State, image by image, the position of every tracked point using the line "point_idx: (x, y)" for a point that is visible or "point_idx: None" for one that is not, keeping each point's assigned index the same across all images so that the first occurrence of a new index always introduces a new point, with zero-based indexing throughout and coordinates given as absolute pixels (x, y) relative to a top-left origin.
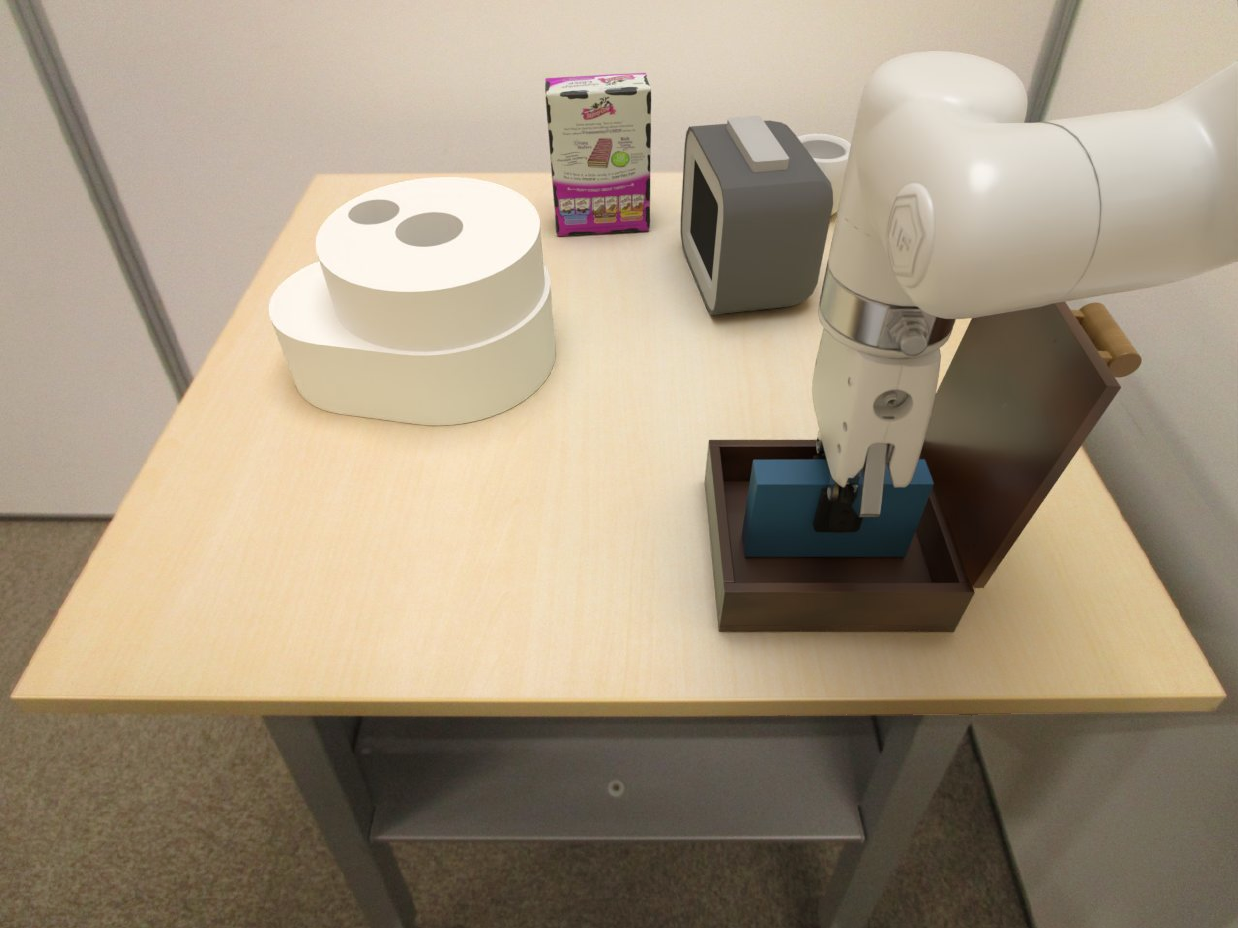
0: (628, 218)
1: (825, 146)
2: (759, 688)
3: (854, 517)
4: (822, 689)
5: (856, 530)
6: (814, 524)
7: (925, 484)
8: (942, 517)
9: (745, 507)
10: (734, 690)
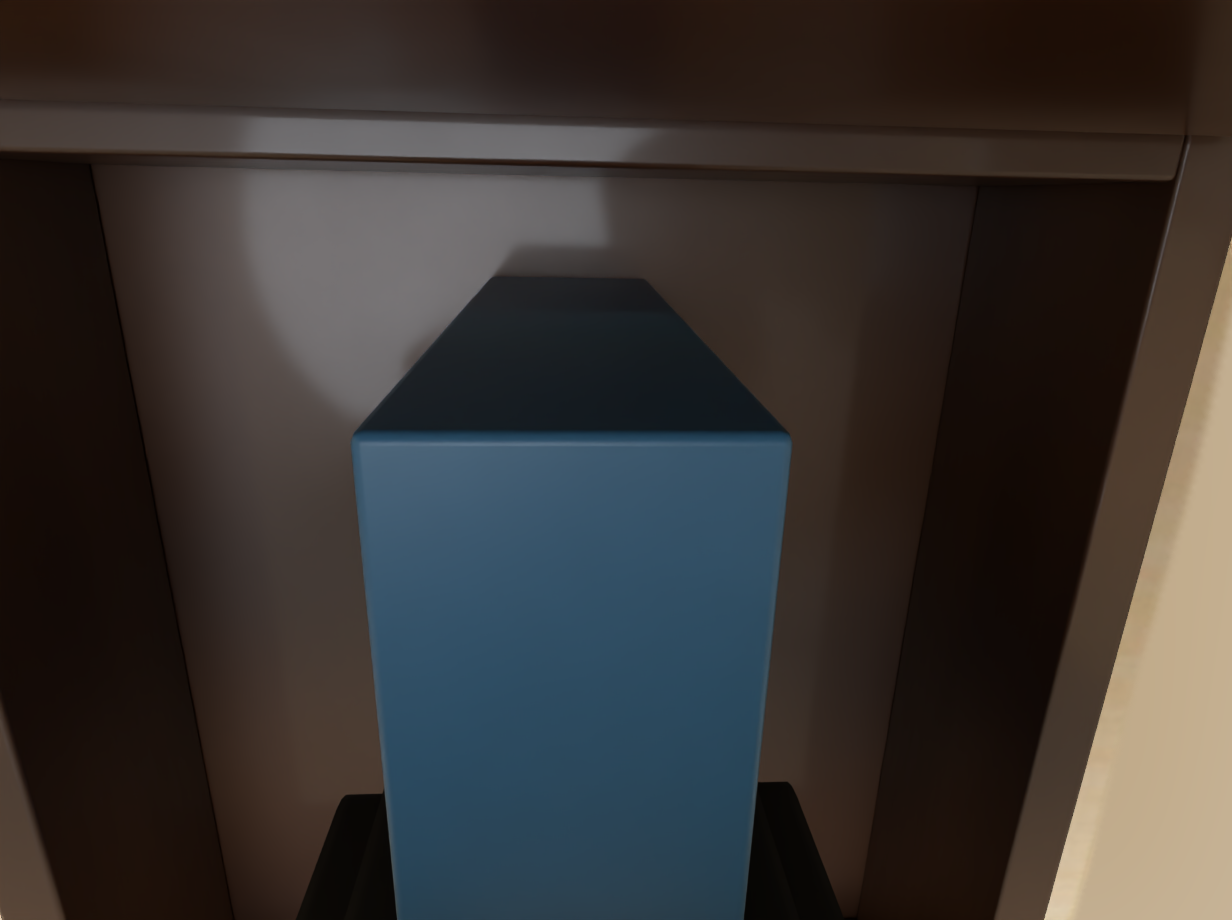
0: None
1: None
2: (1073, 820)
3: (826, 880)
4: (1119, 661)
5: None
6: None
7: (776, 523)
8: (630, 123)
9: None
10: (1063, 876)
